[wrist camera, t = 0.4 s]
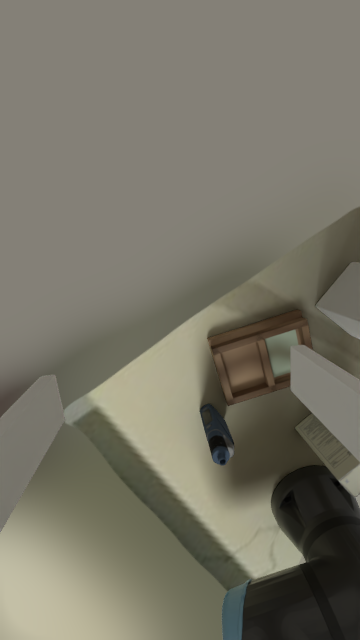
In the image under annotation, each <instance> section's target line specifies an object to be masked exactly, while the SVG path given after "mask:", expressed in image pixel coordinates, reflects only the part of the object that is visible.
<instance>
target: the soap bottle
mask: <svg viewBox="0 0 360 640" xmlns="http://www.w3.org/2000/svg"><path fill="white" fill-rule="evenodd" d="M315 306H316V308H318V309H319V310H320V311H321V312H323V313H324V314H325V315H326V316H328V317H329V318H330V319H331V320H332V321H334V322H335V323H336V324H337V325H339V326H340V327H341V328H342V329H343V330H345V331H346V332H347V333H348V334H350V335H351V336H353V337H356V338H358V339H360V262H351V263H350V264H349V265H348V267H347V268H346V269H345V270H344V271H343V273H342V274H341V275H340V276H339V277H338V279H337V280H336V281H335V282H334V283H333V285H332V286H331V287H330V288H329V289H328V291H327V292H326V293H325V294H324V295H323V297H322V298H321V299H320V300H319V301H318V303H317V304H316V305H315Z"/></svg>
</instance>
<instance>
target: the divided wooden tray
mask: <svg viewBox="0 0 360 640" xmlns="http://www.w3.org/2000/svg"><path fill="white" fill-rule="evenodd" d="M207 339H208V343H209V346H210V349H211V353H212V356H213V359H214V363H215V366H216V369H217V373H218V376H219V379H220V383H221V386H222V389H223V393H224V396H225V400H226V403H227V405H228V406H230V405H233V404H236V403H239V402H242V401H245V400H249V399H252V398H255V397H258V396H261V395H264V394H267V393H270V392H274V391H277V390H280V389H283V388H286V387H289V386H291V358H290V346H297V345H305V346H306V347H308V348H310V349H311V350H313V348H312V343H311V337H310V332H309V327H308V322H307V319H306V318H303V317H302V313H301V311H300V310H294V311H291V312H288V313H284V314H281V315H278V316H275V317H272V318H269V319H266V320H263V321H260V322H256V323H253V324H250V325H247V326H244V327H241V328H238V329H235V330H231V331H228V332H225V333H222V334H219V335H216V336H213V337H210V338H207Z"/></svg>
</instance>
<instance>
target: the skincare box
mask: <svg viewBox="0 0 360 640" xmlns="http://www.w3.org/2000/svg"><path fill="white" fill-rule="evenodd" d="M295 429H296V430H297V432H298V433H299V434H300V435H301V436H302V438H303V439H304V440H305V441H306V442H307V444H308V445H309V446H310V447H311V448H312V450H313V451H314V452H315V453H316V455H317V456H318V457H319V458H320V459H321V461H322V462H323V463H324V464H325V465H326V467H327V468H328V469H329V470H330V471H331V473H332V474H333V475H334V476H335V477H336V479H337V480H338V481H339V482H340V483H341V485H342V486H343V487H344V488H345V489H346V490H347V491H348V492H349V493H350V494H351V495H352V496H353V497H354V498H355V497H357V496H358V495H359V494H360V462H359V461H358V460H357V459H356V458H355V457H354V455H353V454H352V453H351V452H350V451H349V450H348V449H347V448H346V447H345V446H344V445H343V444H342V443H341V442H340V441H339V440H338V439H337V438H336V437H335V436H334V435H333V434H332V433H331V432H330V431H329V430H328V429H327V428H326V427H325V426H324V424H323V423H322V422H321V421H320V420H319V419H318V418H317V417H316V416H315V415H314V414H313V413H311V414H310V415H309V416H308V417H307V418H305V419H304V420H303V421H302V422H301V423H300V424H298V425H297V426H296V427H295Z"/></svg>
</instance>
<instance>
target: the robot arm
mask: <svg viewBox="0 0 360 640" xmlns="http://www.w3.org/2000/svg"><path fill="white" fill-rule="evenodd" d="M290 358H291V391H292V392H293V393H294V394H295V396H296V397H297V398H298V399H299V400H300V401H301V402H302V403H303V404H304V405H305V406H306V407H307V408H308V409H309V410H310V411H311V412H312V413H313V414H314V415H315V416H316V417H317V418H318V419H319V420H320V421H321V422H322V423H323V424H324V426H325V427H326V428H327V429H328V430H329V431H330V432H331V433H332V434H333V435H334V436H335V437H336V438H337V439H338V440H339V441H340V442H341V443H342V444H343V445H344V446H345V447H346V448H347V449H348V450H349V451H350V452H351V453H352V454H353V455H354V457H355V458H356V459H357V460H358V461H359V462H360V380H359V379H358V378H356V377H355V376H353V375H351V374H350V373H348V372H347V371H345V370H343V369H342V368H340V367H339V366H337V365H335V364H334V363H332V362H331V361H329V360H327V359H326V358H324V357H323V356H321V355H319V354H318V353H316V352H314V351H313V350H311V349H310V348H308V347H306V346H305V345H297V346H290ZM64 420H65V416H64V412H63V407H62V403H61V398H60V394H59V390H58V385H57V380H56V376H55V375H47V376H41V377H40V378H39V379H38V380H37V381H36V382H35V383H34V384H33V385H32V386H31V387H30V388H29V389H28V390H27V391H26V392H25V393H24V394H23V395H22V396H21V397H20V398H19V399H18V400H17V401H16V402H15V403H14V404H13V405H12V406H11V407H10V408H9V409H8V410H7V411H6V412H5V414H4V415H2V417H1V418H0V532H1V530H2V529H3V527H4V525H5V523H6V522H7V520H8V518H9V516H10V514H11V513H12V511H13V509H14V507H15V506H16V504H17V502H18V501H19V499H20V497H21V495H22V494H23V492H24V490H25V488H26V487H27V485H28V483H29V481H30V479H31V478H32V476H33V474H34V473H35V471H36V469H37V468H38V466H39V464H40V462H41V461H42V459H43V457H44V455H45V454H46V452H47V450H48V448H49V447H50V445H51V443H52V441H53V440H54V438H55V436H56V434H57V433H58V431H59V429H60V427H61V425H62V424H63V422H64ZM271 508H272V512H273V514H274V517H275V519H276V521H277V523H278V525H279V527H280V528H281V530H282V531H283V532H284V533H285V535H286V536H287V537H288V538H289V539H290V540H291V542H292V543H293V544H294V545H295V546H296V547H297V549H298V550H299V551H300V552H301V553H302V554H303V556H304V558H305V560H306V563H304V564H300V565H297V566H294V567H291V568H288V569H285V570H282V571H279V572H276V573H273V574H270V575H266V576H263V577H260V578H257V579H254V580H251V579H250V580H247V581H246V583H244V584H242V585H240V586H237V587H235V588H232V589H230V590H229V591H228V592H227V594H226V595H225V598H224V601H223V606H222V633H223V640H360V508H359V506H358V503H357V501H356V498H354V497H353V496H352V495H351V494H350V493H349V492H348V491H347V490H346V489H345V488H344V487H343V486H342V485H341V483H340V482H339V481H338V480H337V479H336V477H335V476H334V475H333V474H332V473H331V471H330V470H329V469H328V468H327V467H324V466H309V467H305V468H301V469H299V470H296V471H294V472H293V473H291V474H289V475H288V476H287V477H285V478H284V479H283V480H282V481H281V482H280V483H279V485H278V486H277V487H276V489H275V491H274V493H273V496H272V501H271Z"/></svg>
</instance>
